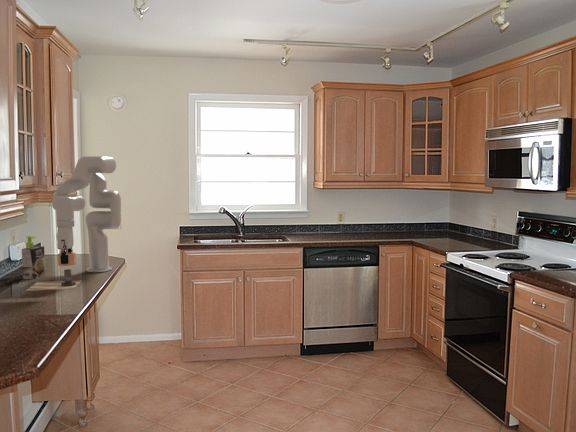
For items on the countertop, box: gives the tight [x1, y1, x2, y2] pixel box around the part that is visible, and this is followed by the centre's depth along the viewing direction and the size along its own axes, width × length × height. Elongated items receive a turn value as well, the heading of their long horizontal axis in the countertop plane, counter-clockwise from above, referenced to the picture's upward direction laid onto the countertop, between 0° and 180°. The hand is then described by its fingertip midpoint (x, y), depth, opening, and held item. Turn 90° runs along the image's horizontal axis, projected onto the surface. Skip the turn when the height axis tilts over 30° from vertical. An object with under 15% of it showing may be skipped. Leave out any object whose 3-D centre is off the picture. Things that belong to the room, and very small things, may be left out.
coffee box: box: [21, 245, 47, 280], centre depth 258 cm, size 9×6×16 cm
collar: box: [57, 251, 77, 267], centre depth 240 cm, size 7×7×5 cm
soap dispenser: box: [25, 235, 36, 248], centre depth 269 cm, size 6×7×20 cm
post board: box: [25, 268, 82, 292], centre depth 241 cm, size 16×20×8 cm
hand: (67, 262), depth 241 cm, fingers closed on collar, 7 cm apart
